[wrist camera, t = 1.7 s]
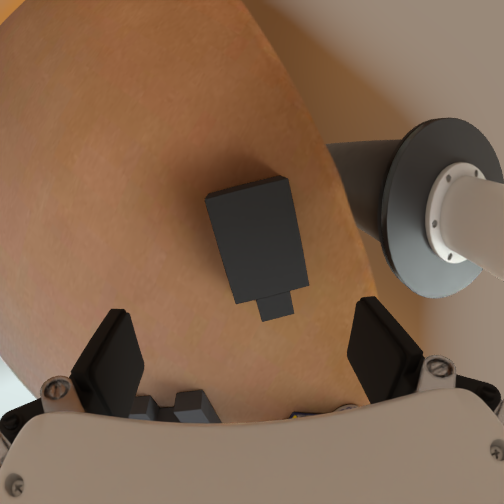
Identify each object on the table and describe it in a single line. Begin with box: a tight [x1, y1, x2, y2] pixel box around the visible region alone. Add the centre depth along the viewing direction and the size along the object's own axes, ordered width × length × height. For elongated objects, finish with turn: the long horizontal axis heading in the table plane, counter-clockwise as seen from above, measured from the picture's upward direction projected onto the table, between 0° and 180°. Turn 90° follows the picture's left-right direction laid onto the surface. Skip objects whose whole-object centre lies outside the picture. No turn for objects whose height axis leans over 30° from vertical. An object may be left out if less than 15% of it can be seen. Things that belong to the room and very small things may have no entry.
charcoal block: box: [128, 390, 221, 423], centre depth 34 cm, size 12×10×4 cm
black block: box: [205, 175, 309, 322], centre depth 26 cm, size 7×13×4 cm, turn 14°
